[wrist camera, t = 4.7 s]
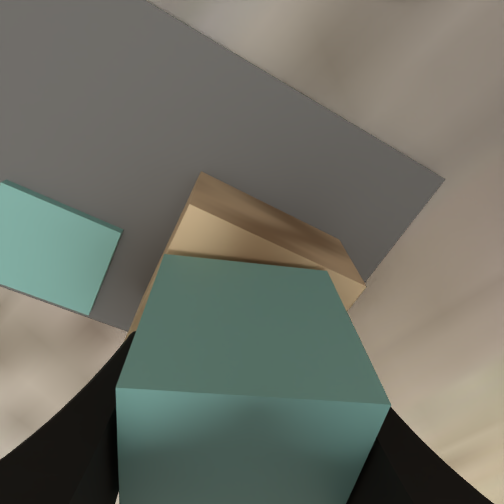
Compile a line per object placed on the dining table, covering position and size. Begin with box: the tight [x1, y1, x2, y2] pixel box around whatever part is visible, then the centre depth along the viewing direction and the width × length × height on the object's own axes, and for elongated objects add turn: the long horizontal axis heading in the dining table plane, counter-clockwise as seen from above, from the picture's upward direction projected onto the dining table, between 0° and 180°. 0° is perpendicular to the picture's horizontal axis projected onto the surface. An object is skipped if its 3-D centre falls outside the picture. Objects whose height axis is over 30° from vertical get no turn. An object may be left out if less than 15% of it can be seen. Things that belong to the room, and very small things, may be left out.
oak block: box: [125, 171, 367, 340], centre depth 15 cm, size 7×7×4 cm
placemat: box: [0, 0, 445, 332], centre depth 16 cm, size 18×14×1 cm
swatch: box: [0, 180, 123, 315], centre depth 16 cm, size 5×5×1 cm
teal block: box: [116, 254, 391, 504], centre depth 11 cm, size 6×6×6 cm
